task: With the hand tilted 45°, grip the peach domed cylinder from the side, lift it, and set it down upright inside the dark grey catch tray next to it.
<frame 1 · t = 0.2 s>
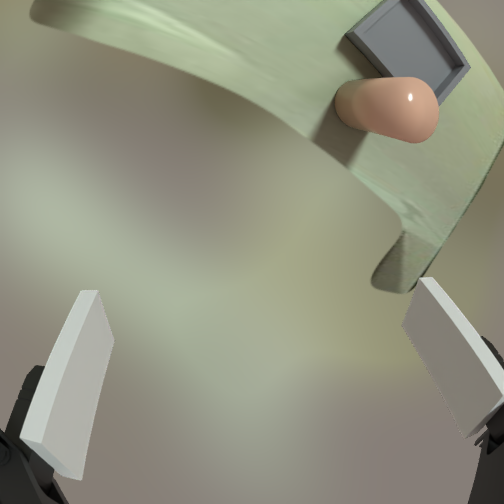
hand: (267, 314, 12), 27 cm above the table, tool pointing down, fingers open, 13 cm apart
catch tray: (410, 50, 32), on the table
peach domed cylinder: (358, 104, 35), on the table
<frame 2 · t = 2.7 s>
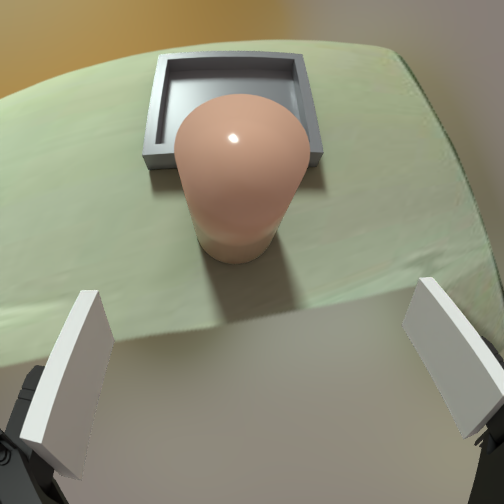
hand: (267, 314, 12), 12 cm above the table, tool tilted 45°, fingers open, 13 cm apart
catch tray: (231, 109, 29), on the table
peach domed cylinder: (234, 225, 26), on the table
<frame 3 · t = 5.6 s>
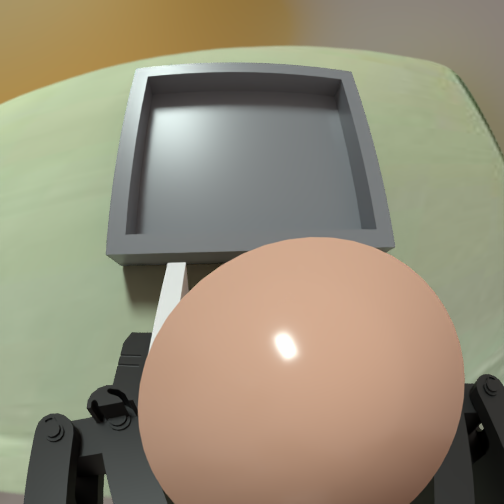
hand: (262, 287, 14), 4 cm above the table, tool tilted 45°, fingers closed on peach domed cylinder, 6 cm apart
catch tray: (247, 160, 19), on the table
peach domed cylinder: (258, 362, 16), on the table, touching gripper
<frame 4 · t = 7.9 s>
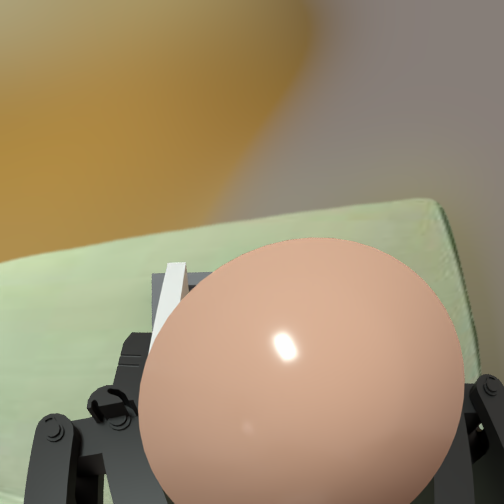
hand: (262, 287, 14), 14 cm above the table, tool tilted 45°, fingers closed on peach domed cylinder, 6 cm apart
catch tray: (245, 350, 27), on the table
peach domed cylinder: (258, 363, 16), point 11 cm above the table, touching gripper
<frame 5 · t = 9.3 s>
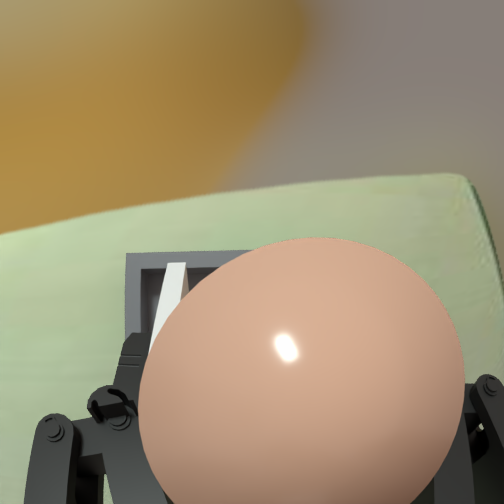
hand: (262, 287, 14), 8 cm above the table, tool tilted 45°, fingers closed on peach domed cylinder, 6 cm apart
catch tray: (248, 355, 20), on the table
peach domed cylinder: (258, 363, 16), point 4 cm above the table, touching gripper
when the fingers open (6 cm above the table, at t = 10.2 s): peach domed cylinder drops 1 cm, resting on catch tray.
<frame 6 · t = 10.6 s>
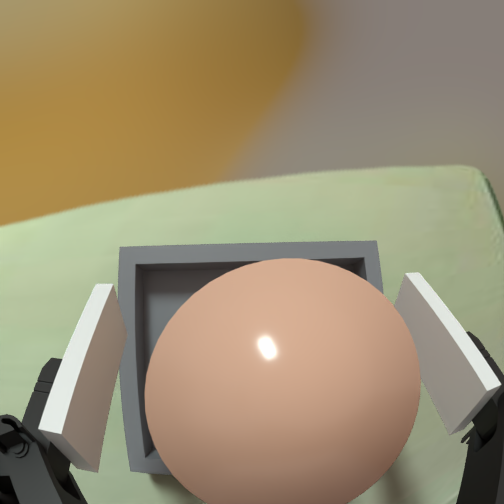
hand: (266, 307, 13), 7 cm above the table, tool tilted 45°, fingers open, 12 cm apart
catch tray: (254, 360, 18), on the table
peach domed cylinder: (252, 361, 18), point 1 cm above the table, touching catch tray
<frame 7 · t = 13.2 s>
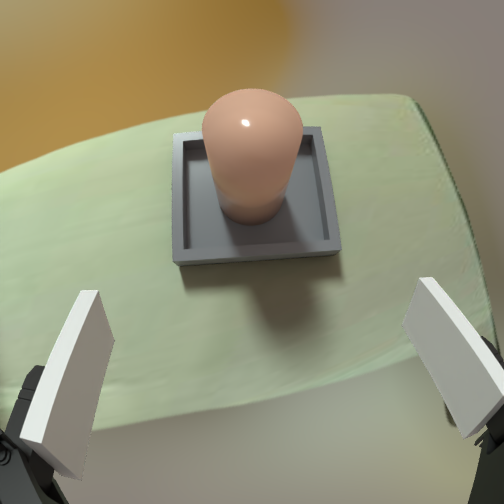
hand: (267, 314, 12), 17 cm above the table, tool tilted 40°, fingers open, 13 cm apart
catch tray: (251, 196, 32), on the table
peach domed cylinder: (250, 194, 31), point 1 cm above the table, touching catch tray
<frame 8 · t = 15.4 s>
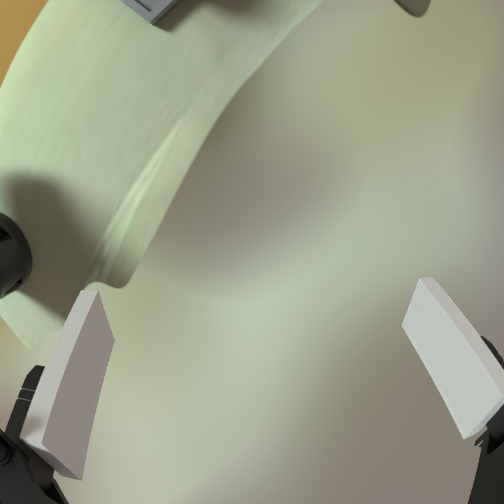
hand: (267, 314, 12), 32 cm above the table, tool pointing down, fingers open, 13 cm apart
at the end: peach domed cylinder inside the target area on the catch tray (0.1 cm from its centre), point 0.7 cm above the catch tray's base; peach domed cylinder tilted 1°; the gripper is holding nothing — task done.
